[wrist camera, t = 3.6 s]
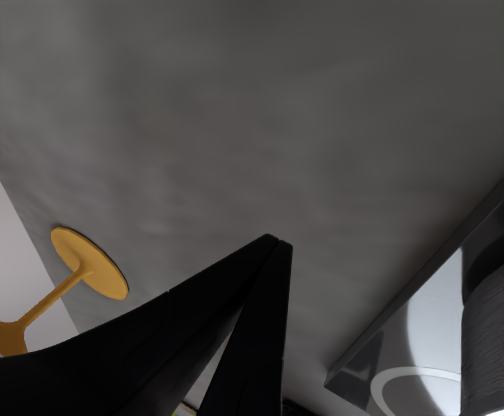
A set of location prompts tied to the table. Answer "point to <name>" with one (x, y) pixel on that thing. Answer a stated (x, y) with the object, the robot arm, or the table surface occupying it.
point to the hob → (424, 327)
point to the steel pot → (483, 349)
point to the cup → (67, 284)
